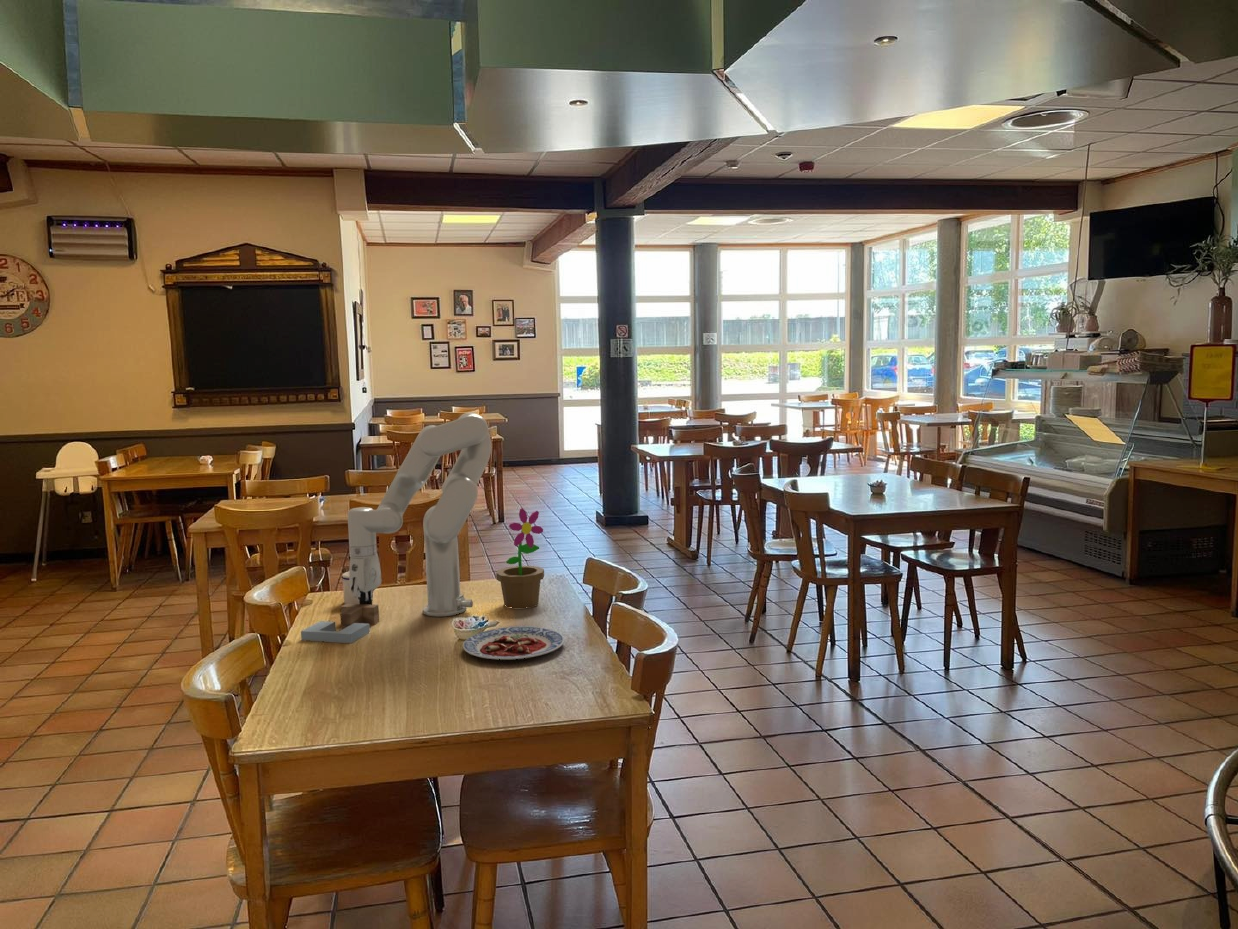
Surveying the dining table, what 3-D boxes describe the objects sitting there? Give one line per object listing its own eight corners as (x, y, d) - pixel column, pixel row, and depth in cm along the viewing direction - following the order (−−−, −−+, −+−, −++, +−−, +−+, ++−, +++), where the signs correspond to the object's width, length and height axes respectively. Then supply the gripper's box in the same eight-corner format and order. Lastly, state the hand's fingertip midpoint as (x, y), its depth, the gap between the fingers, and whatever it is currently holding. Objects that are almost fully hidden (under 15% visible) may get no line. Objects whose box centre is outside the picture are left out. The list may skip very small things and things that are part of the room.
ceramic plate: (540, 671, 214) (539, 659, 214) (444, 661, 223) (443, 650, 222) (579, 638, 239) (579, 627, 238) (491, 631, 247) (491, 620, 247)
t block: (379, 621, 258) (378, 604, 257) (363, 632, 248) (362, 614, 247) (346, 620, 260) (345, 603, 259) (329, 631, 250) (328, 613, 249)
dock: (369, 632, 248) (369, 623, 247) (351, 643, 238) (350, 634, 238) (321, 629, 251) (320, 621, 251) (301, 640, 242) (300, 631, 242)
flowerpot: (516, 613, 262) (512, 512, 259) (488, 604, 273) (484, 506, 269) (554, 603, 272) (551, 505, 268) (526, 595, 282) (522, 500, 279)
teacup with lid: (374, 604, 276) (372, 567, 275) (343, 607, 274) (341, 570, 272) (372, 595, 288) (370, 559, 286) (342, 598, 285) (340, 561, 284)
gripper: (360, 556, 250) (364, 621, 253) (388, 545, 265) (391, 606, 267) (336, 555, 252) (340, 619, 255) (365, 544, 267) (368, 605, 269)
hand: (366, 612), depth 261 cm, fingers closed
